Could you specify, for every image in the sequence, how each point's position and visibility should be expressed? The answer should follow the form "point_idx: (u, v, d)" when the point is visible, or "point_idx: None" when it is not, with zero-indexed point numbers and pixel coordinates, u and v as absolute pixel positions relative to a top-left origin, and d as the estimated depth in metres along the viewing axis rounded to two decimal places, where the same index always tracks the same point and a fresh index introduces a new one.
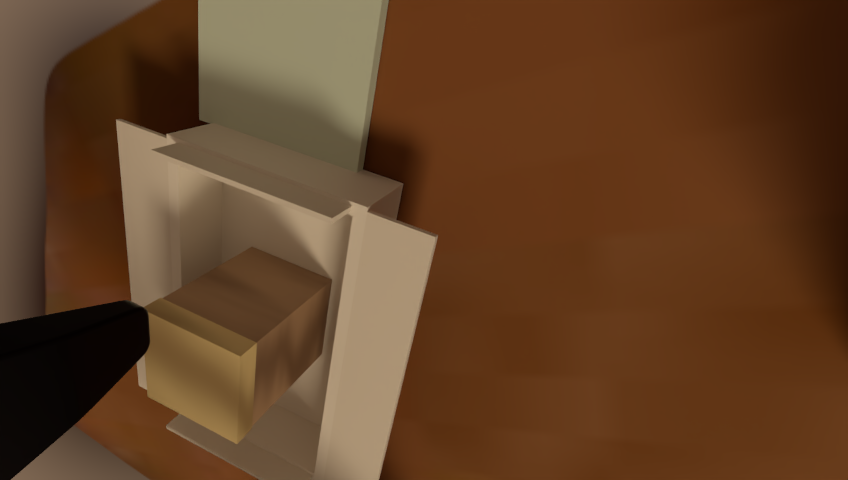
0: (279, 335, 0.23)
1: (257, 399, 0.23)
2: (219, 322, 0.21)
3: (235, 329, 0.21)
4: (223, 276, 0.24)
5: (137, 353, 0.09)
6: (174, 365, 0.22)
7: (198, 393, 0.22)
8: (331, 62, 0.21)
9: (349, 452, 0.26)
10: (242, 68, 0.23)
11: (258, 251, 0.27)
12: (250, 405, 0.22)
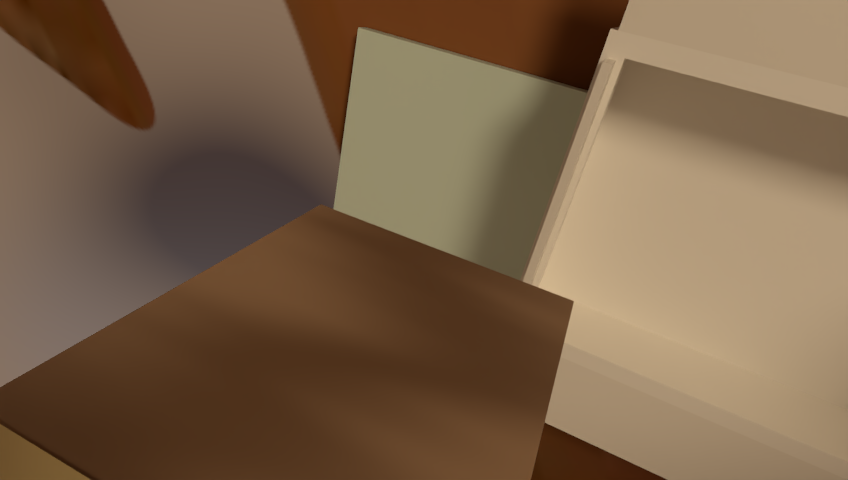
0: (173, 338, 0.06)
1: None
2: None
3: None
4: None
5: None
6: None
7: None
8: (456, 111, 0.19)
9: None
10: (460, 232, 0.20)
11: None
12: None
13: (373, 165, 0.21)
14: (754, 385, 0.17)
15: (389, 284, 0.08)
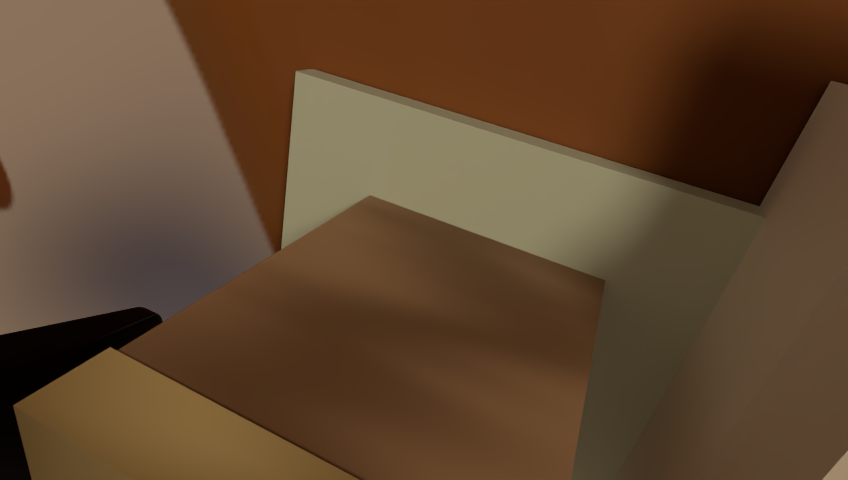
0: (265, 304, 0.07)
1: (417, 474, 0.05)
2: None
3: None
4: None
5: None
6: None
7: None
8: (477, 227, 0.10)
9: None
10: None
11: None
12: None
13: None
14: None
15: (440, 263, 0.09)
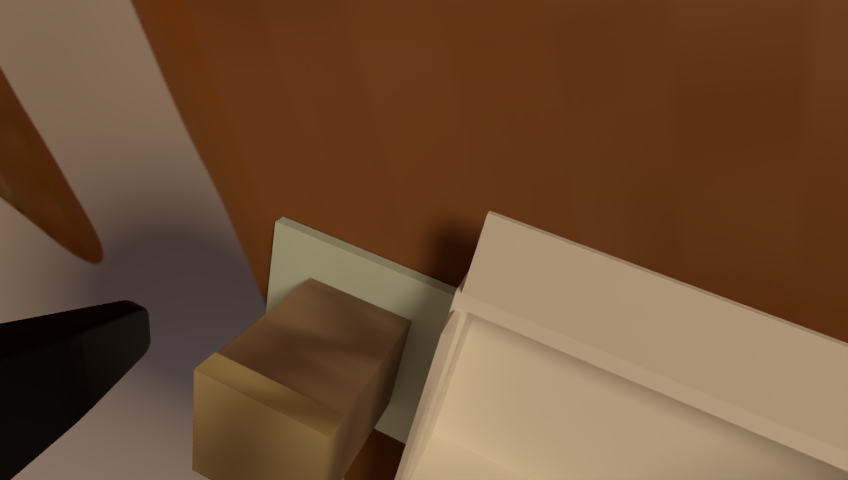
0: (264, 335, 0.19)
1: (311, 389, 0.17)
2: None
3: None
4: None
5: (137, 353, 0.09)
6: (246, 467, 0.18)
7: (271, 455, 0.17)
8: (358, 295, 0.22)
9: None
10: None
11: None
12: (298, 397, 0.17)
13: None
14: None
15: (336, 315, 0.21)
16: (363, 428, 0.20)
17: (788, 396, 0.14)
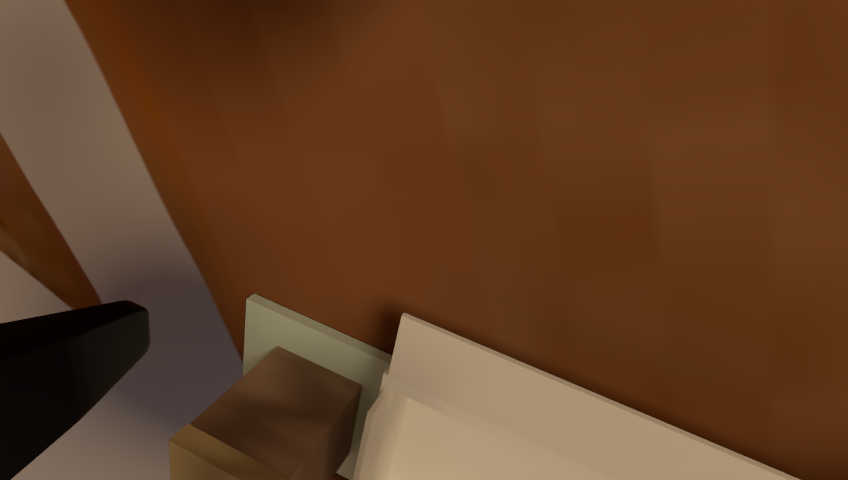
0: (231, 405, 0.22)
1: (265, 455, 0.20)
2: None
3: None
4: None
5: (137, 353, 0.09)
6: None
7: None
8: (317, 362, 0.25)
9: None
10: None
11: None
12: (253, 464, 0.20)
13: None
14: None
15: (296, 382, 0.24)
16: None
17: (644, 470, 0.17)
